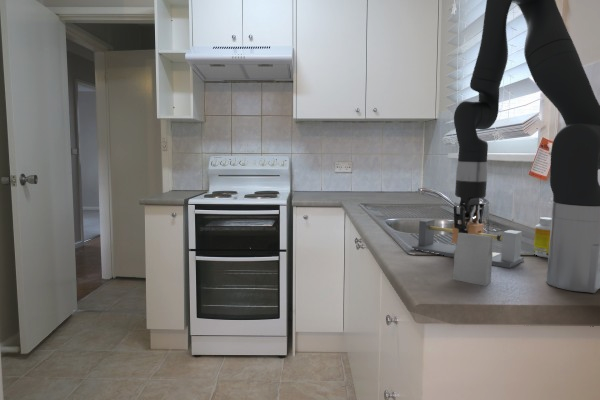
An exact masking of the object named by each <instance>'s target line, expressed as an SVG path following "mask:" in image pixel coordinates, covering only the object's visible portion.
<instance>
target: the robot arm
mask: <svg viewBox="0 0 600 400" xmlns="http://www.w3.org/2000/svg"><path fill="white" fill-rule="evenodd" d="M485 3H486V4H485V11H484V17H483V25H482V33H481V34H482V35H481V39H480V45H479V50H478V53H477V57H476V60H475V64H474V68H473V71H472V75H471V78H470V82H469V87H470V89H471V90H472V91H474V92H477V93H478V101H475V100H464V101H462V102H460V103H459V104H458V105H457V106H456V108H455V111H454V114H453V124H454V130H455V133H456V139H457V142H458V159H457V165H456V171H455V172H456V175H455V190H454V191H455V192H454V196H455V197H457V198H460V200H459V204H458V205H454V206H453V223H454V227H455V228H457V229H458V230H459V232H458V233H466V234H468V228H469V223H471V222H472V223H480V224H483V223H482V221H483V216H484V208H485V203H483V202H480V199H484V198H486V196H487V182H488V150H489V146H488V145H489V144H488V142H487V140H486V139H483V138H480V137H479V136H478V133H477V130H480V131H481V130H488V129H489V128H491V127H492V126H493V125H494V124H495V122H496V120H497V118H498V115H499V110H500V109H499V105H500V104H499V103H500V86H501V83H502V80H503V77H504V74H505V71H506V68H507V64H508V59H509V46H508V36H507V23H508V15H509V11H510V8H511V6H512V4H516V5H517V6H518V8H519V10H520V11H521V13H522V16H523V18H524V20H525V24H526V28H527V29H526V34H525V35H526V36H525V41H524V45H523V46H524V49H523V54H524V58H525V59H524V60H525V62H526V66H527V67H528V69H529V72H530V75H531V77H532V79H533V81H534V83H535V85H536V86H537V88H538V89H539V90H540V91H541V92H542V93H543V95H544V96H545V97H546V98H547V100H549V102H550V103H552V105H553V106H554V107H555V108H556V109H557V111H558V112H559V114H560V115H561V117H562V119H563V121H564V124H565V126H564V127H562V128H561V129H560V130H559V131H558V132H557V133H556V135H555V137H554V138H553V142H552V145H551V150H550V165H549V166H550V170H549V171H550V174H549V183H550V184H549V186H550V188H551V192H552V195H553V197H552V198H553V199H552V209H551V210H552V211H551V218H552V219H551V231H550V243H549V255H548V258H547V266H546V267H547V268H546V269H547V270H546V279H545V281H546V284H548V285H550V286H552V287H554V288H558V289H561V290H565V291H566V290H567V291H572V292H582V293H591V294H596V292H598V290H599V289H600V183H599V175H598V174H599V170H600V103H599V101H598V99H597V97H596V95H595V92H594V90H593V88H592V84H591V82H590V81H589V78H588V75H587V74H586V73H587V72H586V70H585V68H584V66H583V64H582V61H581V59H580V56H579V53H578V50H577V49H576V45H575V43H574V41H573V39H572V38H571V37H572V36H571V35H570V33H569V30H568V29H567V27H566V24H565V21H564V19H563V16H562V14H561V12H560V10H559V8H558V5H557V2H556V0H486V2H485ZM465 222H466V224H465Z"/></svg>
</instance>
